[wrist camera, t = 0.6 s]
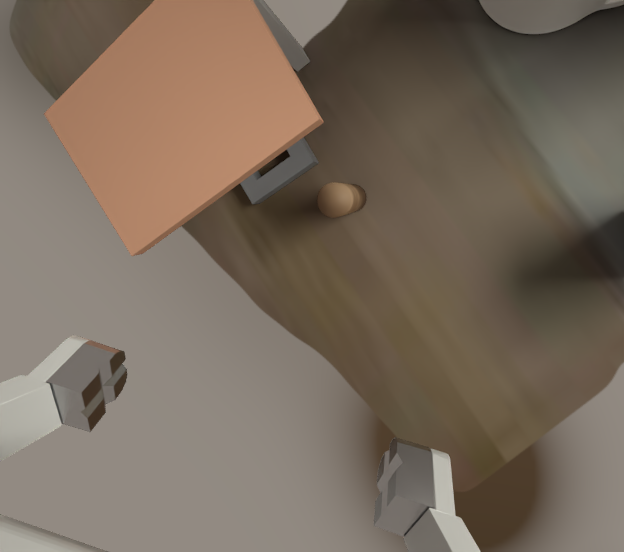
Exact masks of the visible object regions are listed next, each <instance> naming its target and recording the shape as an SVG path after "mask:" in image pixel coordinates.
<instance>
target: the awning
mask: <svg viewBox="0 0 624 552" xmlns="http://www.w3.org/2000/svg"><path fill="white" fill-rule="evenodd" d="M309 62H310V60H309V58H308V57H307V55H306V53H305V52H304V50H303V48H302V47H301V46H300V44H299V43H298V42H297V41H296V39H294V37H293V36H292V35H291V33H290V32H289V31H288V30H287V29H286V27H285V26H284V25H283V24H282V22H281V21H280V20H279V19H278V18H277V16H276V15H275V14H274V13H273V11H272V10H271V9H270V8H269V7H268V6H267V4H266V3H265V2H264V0H154V1H153V2H152V3H151V4H150V6H149V7H148V8H147V9H146V10H145V11H144V12H143V13H142V14H141V15H140V16H139V17H138V18H137V19H136V20H135V21H134V22H133V23H132V24H131V25H130V26H129V27H128V28H127V29H126V30H125V31H124V32H123V33H122V34H121V35H120V36H119V37H118V38H117V39H116V40H115V41H114V42H113V43H112V44H111V45H110V46H109V48H108V49H107V50H106V51H105V52H104V53H103V54H102V55H101V56H100V57H99V58H98V59H97V60H96V61H95V62H94V63H93V64H92V65H91V66H90V67H89V68H88V69H87V70H86V71H85V72H84V73H83V74H82V75H81V76H80V77H79V78H78V79H77V80H76V81H75V82H74V83H73V84H72V85H71V86H70V87H69V88H68V89H67V91H66V92H65V93H64V94H63V95H62V96H61V97H60V98H59V99H58V100H57V101H56V102H55V103H54V104H53V105H52V106H51V107H50V108H49V109H48V110H47V111H46V112H45V113H44V115H45V116H46V118H47V119H48V121H49V123H50V125H51V126H52V128H53V129H54V131H55V133H56V134H57V136H58V137H59V139H60V141H61V142H62V144H63V146H64V147H65V149H66V150H67V152H68V154H69V155H70V157H71V158H72V160H73V162H74V163H75V165H76V167H77V168H78V170H79V171H80V173H81V175H82V176H83V178H84V179H85V181H86V183H87V184H88V186H89V188H90V189H91V191H92V192H93V194H94V196H95V197H96V199H97V201H98V202H99V204H100V206H101V207H102V209H103V210H104V212H105V213H106V215H107V217H108V219H109V220H110V222H111V223H112V225H113V227H114V228H115V230H116V231H117V233H118V235H119V236H120V238H121V240H122V241H123V243H124V244H125V246H126V247H127V249H128V251H129V253H130V254H131V256H134V255H139V254H143V253H144V252H146V251H147V250H148V249H150V248H151V247H153V246H154V245H155V244H157V243H158V242H159V241H161V240H162V239H164V238H165V237H166V236H168V235H169V234H171V233H172V232H173V231H174V230H176V229H177V228H179V227H180V226H182V225H183V224H184V223H186V222H187V221H188V220H190V219H191V218H193V217H194V216H195V215H197V214H198V213H199V212H201V211H202V210H204V209H205V208H206V207H208V206H209V205H211V204H212V203H213V202H215V201H216V200H217V199H219V198H220V197H222V196H223V195H224V194H226V193H227V192H228V191H230V190H231V189H233V188H234V187H235V186H237V185H238V184H241V186H242V187H243V189H244V191H245V192H246V194H247V196H248V197H249V199H250V201H251V202H252V204H260V203H261V202H263V201H264V200H266V199H267V198H269V197H270V196H272V195H273V194H275V193H276V192H277V191H279V190H280V189H282V188H283V187H285V186H286V185H288V184H289V183H291V182H292V181H293V180H295V179H296V178H298V177H299V176H301V175H302V174H304V173H305V172H307V171H308V170H309V169H311V168H312V167H314V166H315V165H317V164H318V163H319V162H318V161H317V159H316V157H315V155H314V154H313V152H312V150H311V149H310V147H309V145H308V144H307V142H306V140H305V138H304V136H306V135H307V134H309V133H310V132H311V131H313V130H314V129H315V128H317V127H318V126H320V125H321V124H322V123H324V121H323V120H322V118H321V116H320V115H319V113H318V111H317V109H316V108H315V106H314V104H313V103H312V101H311V99H310V97H309V96H308V94H307V92H306V91H305V89H304V87H303V85H302V84H301V82H300V80H299V78H298V77H297V75H296V73H295V72H294V70H293V68H294V69H295V70H296V71H297V72H298V71H299V70H300V69H302V68H303V67H304V66H305V65H307V64H308V63H309ZM292 67H293V68H292ZM285 150H287V151H288V153H289V155H290V157H289V158H287V159H286V160H284V161H283V162H282V163H280V164H279V165H277V166H276V167H275V168H273V169H272V170H270V171H269V172H268V173H266V174H265V175H263V176H261V175H260V173H259V171H258V170H259V169H260V168H262V167H263V166H264V165H266V164H267V163H269V162H270V161H271V160H273V159H274V158H275V157H277V156H278V155H280V154H281V153H282V152H284V151H285Z"/></svg>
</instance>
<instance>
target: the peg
mask: <svg viewBox="0 0 624 552" xmlns="http://www.w3.org/2000/svg"><path fill="white" fill-rule="evenodd" d="M365 203H366V193H365V191H364V190H363V188H362V187H360V186H358V185H354V184H345V183H334V182H333V183H328V184H326V185H325V186H323V187H322V188H321V189H320V191H319V193H318V196H317V204H318V207H319V209H320V211H321V212H322V213H323V214H324V215H326V216H328V217H332V218H335V217H340V216H343V215H346V214H349V213H353V212H356V211H359V210H360V209H362V208H363V206H364V205H365Z"/></svg>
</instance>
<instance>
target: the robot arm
mask: <svg viewBox="0 0 624 552" xmlns="http://www.w3.org/2000/svg"><path fill="white" fill-rule="evenodd" d="M479 2H480V4H481V5H482V7H483V9H484V10H485V12H486V13H487V14H488V15H489V16H490V17H491V18H492V19H493V20H494V21H495V22H496V23H498V24H499V25H501V26H502V27H504V28H506V29H509V30H511V31H514V32H518V33H524V34H543V33H549V32H553V31H557V30H560V29H562V28H565V27H567V26H570V25H572V24H574V23H576V22H577V21H579V20H581V19H582V18H584V17H586V16H587V15H589V14H591V13H593V12H595V11H598V10H603V9H608V8H613V7H617V6H621V5H624V0H479ZM124 361H125V353H124V351H121V350H118V349H115V348H112V347H109V346H106V345H103V344H100V343H96V342H94V341H92V340H89V339H85V338H82V337H79V336H76V335H73V336H71V337H69V338H67V339H66V340H65V341H64V342H63V343H62V344H61V345H60V346H58V347H57V348H56V349H55V350H54V351H53V352H52V353H51V354H50V355H49V356H48V357H47V358H46V359H45V360H43V361H42V363H40V364H39V365H38V366H37V367H36V368H35V369H34V370H33V371H32V372H31V373H30V374H29V375H27V376H24V375H20V376H17V377H15V378H12V379H10V380H7V381H4V382H2V383H0V461H2V460H3V459H5V458H7V457H9V456H10V455H12V454H14V453H16V452H17V451H19V450H21V449H22V448H24V447H26V446H27V445H29V444H31V443H32V442H34V441H36V440H38V439H39V438H41V437H43V436H45V435H46V434H48V433H50V432H52V431H53V430H55V429H57V428H58V427H60V426H62V424H65V425H68V426H72V427H75V428H78V429H82V430H85V431H89V432H91V431H92V429H93V428H94V427H95V426H96V424H97V423H98V422H99V420H100V419H101V418H102V416H103V415H104V414H105V413H106V408H105V407H106V406H105V405H106V404H107V403H109V402H112V401H114V400H115V399H116V398H117V397H118V395H119V394H120V393H121V391H122V389H123V387H124V385H125V383H126V379H127V369H126V368H125V367H124V365H123V364H122V363H123V362H124ZM377 486H378V488H379V490H380V492H381V493H380V495H379V496H378V498H377V499H376V501H375V515H374V526H375V527H378V528H381V529H384V530H387V531H389V532H392V533H395V534H397V535H400V536H403V537H404V538H403V539H404V542H405V545H406V547H407V550H408V552H480V550H479V548H478V546H477V545H476V543H475V542H474V540H473V538H472V536H471V535H470V533H469V531H468V530H467V528H466V526H465V524H464V523H463V521H462V519H461V518H459V517H457V516H455V507H454V496H453V485H452V474H451V463H450V457H449V455H448V454H447V453H444V452H441V451H437V450H434V449H431V448H429V447H426V446H423V445H420V444H416V443H413V442H410V441H406V440H403V439H400V438H396V437H395V438H394V439H393V440H392V441H391V443H390V451H387V452H385V453H384V455H383V457H382V459H381V462H380V465H379V469H378V476H377ZM0 552H108V551H105V550H102V549H99V548H96V547H93V546H90V545H87V544H85V543H82V542H79V541H76V540H73V539H70V538H67V537H65V536H61V535H59V534H56V533H53V532H50V531H47V530H44V529H42V528H38V527H36V526H32V525H30V524H27V523H24V522H21V521H18V520H15V519H13V518H9V517H7V516H4V515H1V514H0Z"/></svg>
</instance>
